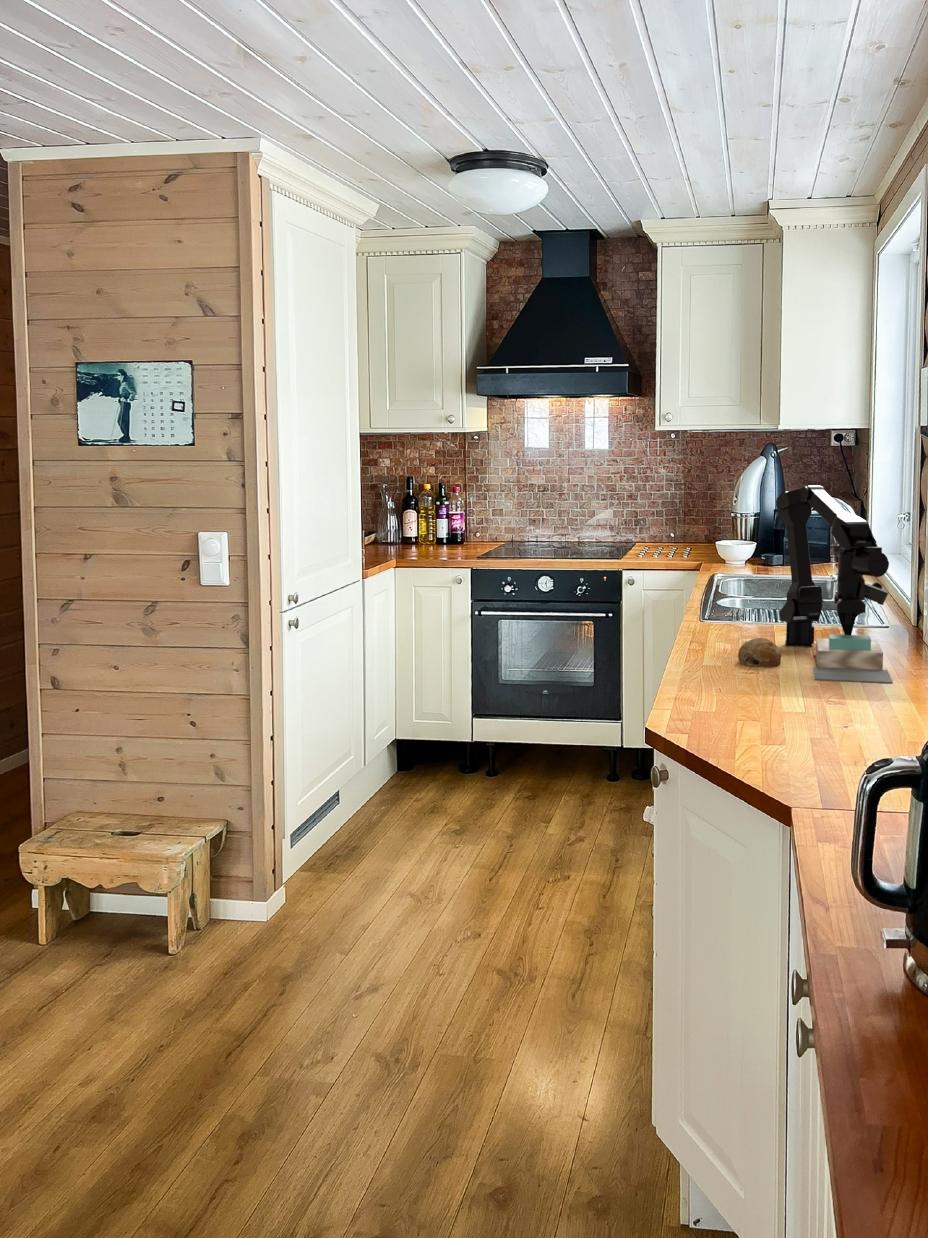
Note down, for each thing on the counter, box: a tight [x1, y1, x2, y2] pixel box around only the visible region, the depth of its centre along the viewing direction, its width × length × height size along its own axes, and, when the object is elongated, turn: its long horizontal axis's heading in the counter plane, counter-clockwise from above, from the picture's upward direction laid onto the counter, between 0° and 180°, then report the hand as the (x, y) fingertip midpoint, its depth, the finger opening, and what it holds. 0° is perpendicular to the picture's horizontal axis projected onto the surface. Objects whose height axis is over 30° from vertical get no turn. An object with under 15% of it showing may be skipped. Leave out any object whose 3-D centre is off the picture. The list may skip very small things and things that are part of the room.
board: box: [815, 637, 884, 670], centre depth 272 cm, size 14×18×4 cm
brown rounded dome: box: [737, 637, 782, 668], centre depth 271 cm, size 10×10×8 cm
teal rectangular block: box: [828, 633, 872, 651], centre depth 268 cm, size 9×6×2 cm, turn 75°
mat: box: [812, 666, 893, 684], centre depth 256 cm, size 16×14×1 cm
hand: (847, 637), depth 276 cm, fingers closed
